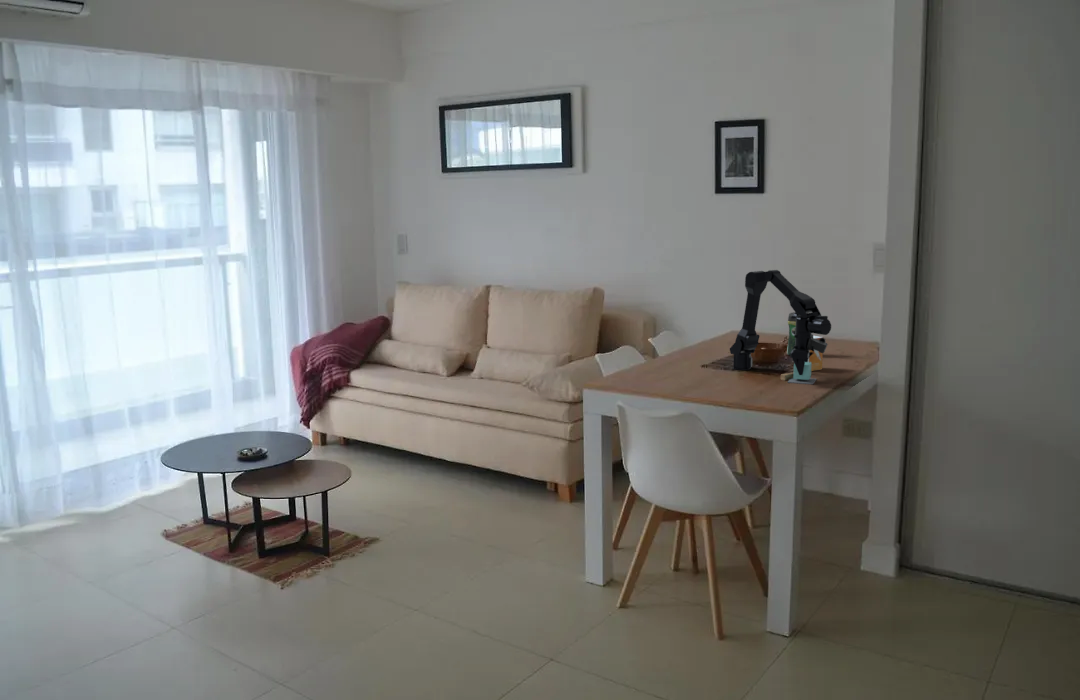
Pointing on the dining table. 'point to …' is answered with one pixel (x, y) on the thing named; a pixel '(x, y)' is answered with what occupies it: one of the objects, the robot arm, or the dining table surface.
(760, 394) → the dining table surface
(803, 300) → the robot arm
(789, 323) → the coffee jar
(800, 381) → the coaster
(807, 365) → the teal block
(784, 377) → the tan bar
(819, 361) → the small box
